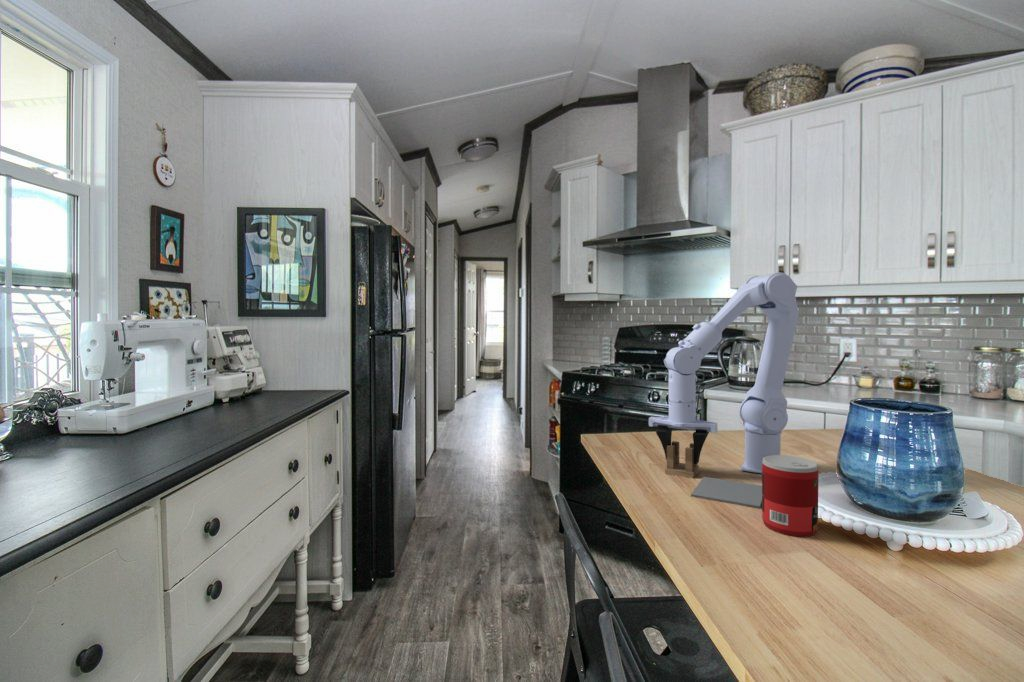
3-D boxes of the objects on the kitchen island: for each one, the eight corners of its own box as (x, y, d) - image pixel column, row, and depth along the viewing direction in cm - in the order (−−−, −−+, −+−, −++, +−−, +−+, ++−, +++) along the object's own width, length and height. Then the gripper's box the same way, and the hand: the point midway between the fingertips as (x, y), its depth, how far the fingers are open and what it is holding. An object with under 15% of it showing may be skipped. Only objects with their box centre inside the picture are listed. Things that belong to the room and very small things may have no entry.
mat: (703, 478, 103) (703, 476, 103) (766, 488, 97) (766, 486, 97) (690, 496, 93) (690, 494, 93) (759, 508, 87) (759, 506, 87)
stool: (672, 466, 112) (672, 440, 111) (699, 470, 108) (699, 443, 108) (665, 473, 107) (664, 446, 106) (693, 478, 103) (693, 450, 103)
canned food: (826, 539, 74) (827, 469, 74) (770, 535, 76) (770, 467, 75) (806, 519, 82) (807, 455, 81) (756, 516, 83) (756, 453, 83)
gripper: (644, 401, 107) (644, 460, 108) (713, 406, 100) (713, 470, 100) (653, 396, 113) (654, 453, 114) (719, 401, 105) (719, 461, 106)
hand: (682, 460), depth 107 cm, fingers closed on stool, 5 cm apart
